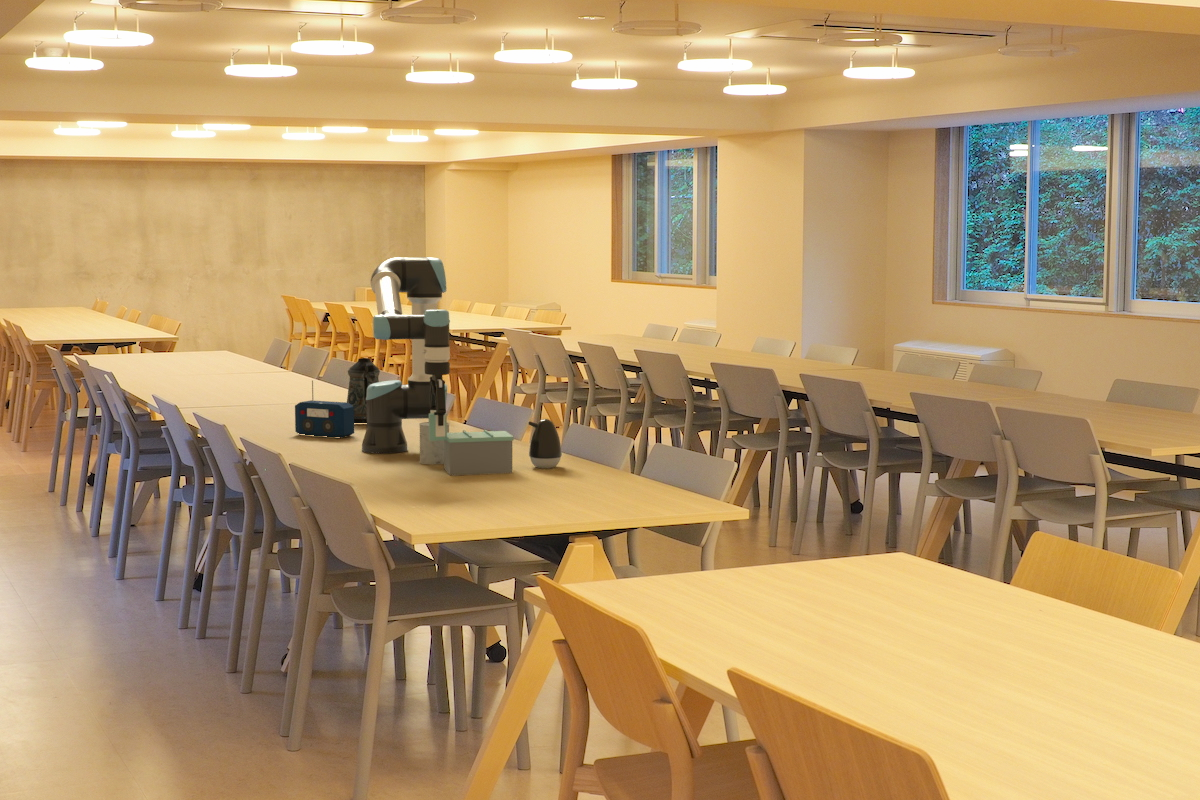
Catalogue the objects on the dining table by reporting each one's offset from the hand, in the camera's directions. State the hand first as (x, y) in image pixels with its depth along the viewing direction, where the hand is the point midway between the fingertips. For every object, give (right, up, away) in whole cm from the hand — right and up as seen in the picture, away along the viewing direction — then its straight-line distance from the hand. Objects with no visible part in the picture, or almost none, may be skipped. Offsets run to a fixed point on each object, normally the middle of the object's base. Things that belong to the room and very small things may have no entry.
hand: (437, 433), depth 389 cm
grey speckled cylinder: (-4, -10, +21) cm, 23 cm away
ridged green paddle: (+9, -2, +3) cm, 10 cm away
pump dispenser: (+32, -11, +12) cm, 36 cm away
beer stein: (-42, +1, +114) cm, 121 cm away
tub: (+12, -11, +5) cm, 17 cm away
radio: (-51, -3, +77) cm, 92 cm away
